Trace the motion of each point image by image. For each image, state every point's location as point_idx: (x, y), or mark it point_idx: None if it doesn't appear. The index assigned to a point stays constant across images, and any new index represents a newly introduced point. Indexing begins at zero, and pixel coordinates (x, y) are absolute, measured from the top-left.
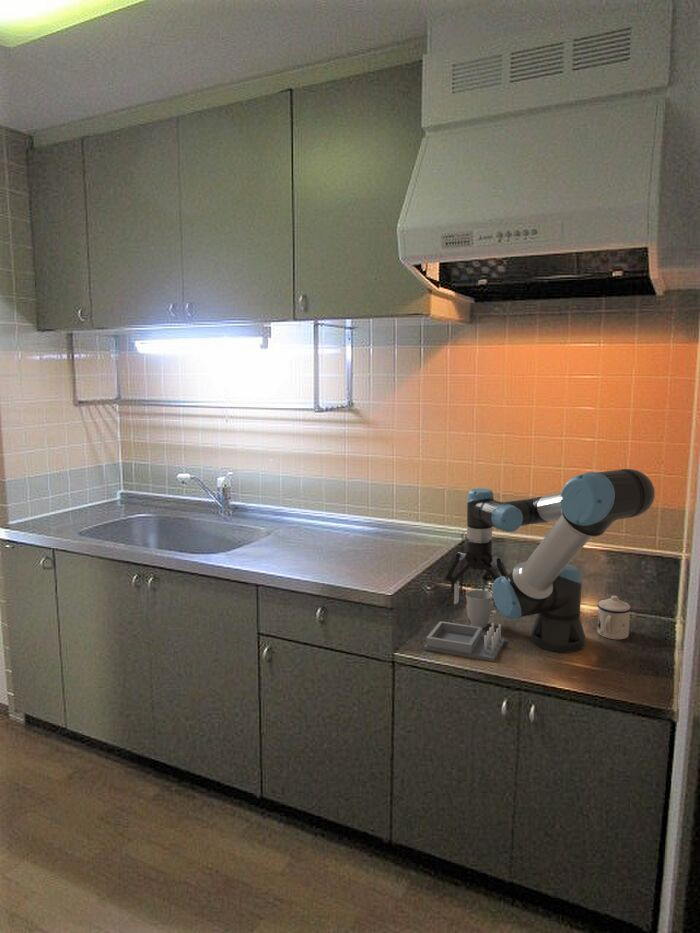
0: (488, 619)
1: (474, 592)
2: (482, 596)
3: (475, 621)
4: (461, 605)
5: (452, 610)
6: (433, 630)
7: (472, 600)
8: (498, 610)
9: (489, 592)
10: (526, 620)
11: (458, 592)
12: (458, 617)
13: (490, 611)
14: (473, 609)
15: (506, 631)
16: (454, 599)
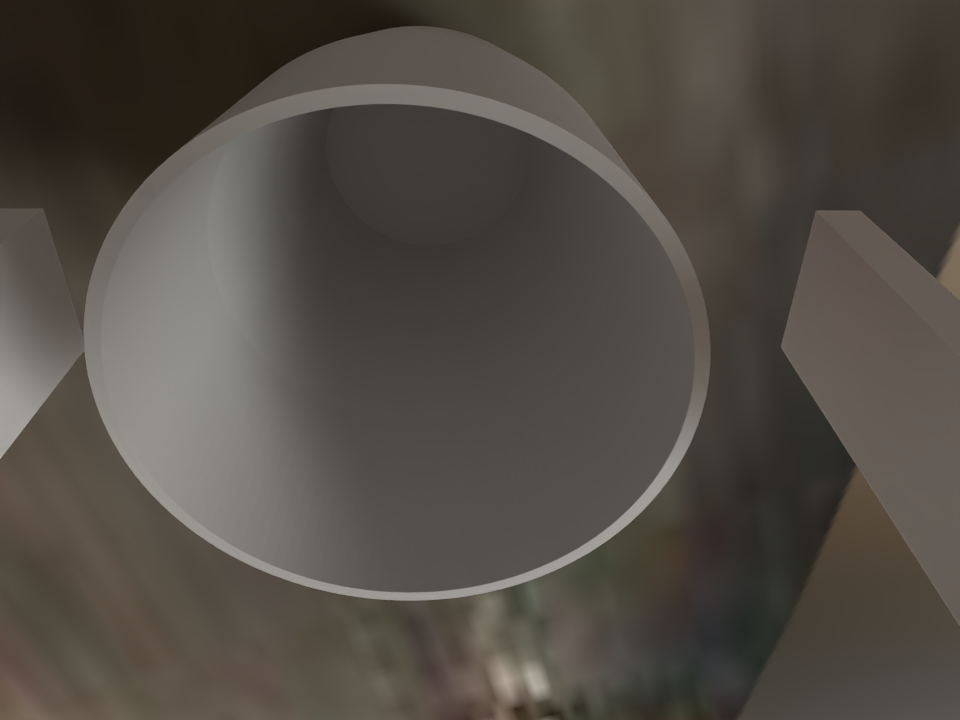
0: (267, 166)
1: (545, 524)
2: (405, 503)
3: (425, 26)
4: (707, 557)
5: (787, 433)
6: None
7: (479, 85)
8: (30, 211)
9: (239, 551)
10: (4, 454)
11: (857, 427)
12: (705, 288)
13: (220, 240)
14: (452, 40)
15: (30, 87)
16: (893, 248)
